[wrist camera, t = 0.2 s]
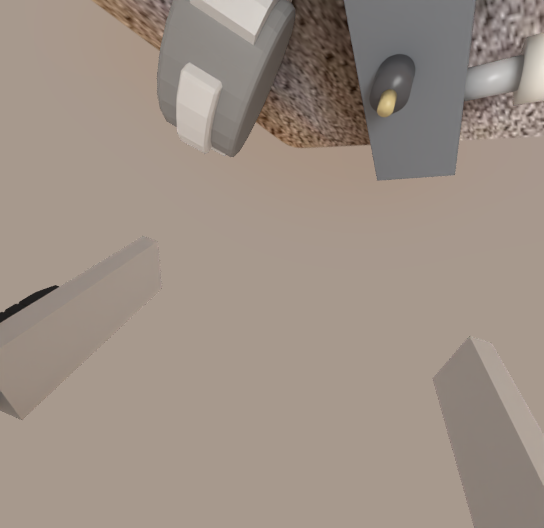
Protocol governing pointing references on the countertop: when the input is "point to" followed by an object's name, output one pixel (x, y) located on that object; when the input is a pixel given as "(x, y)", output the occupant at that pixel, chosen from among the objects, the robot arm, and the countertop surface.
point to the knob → (511, 75)
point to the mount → (426, 85)
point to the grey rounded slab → (220, 67)
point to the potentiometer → (392, 85)
